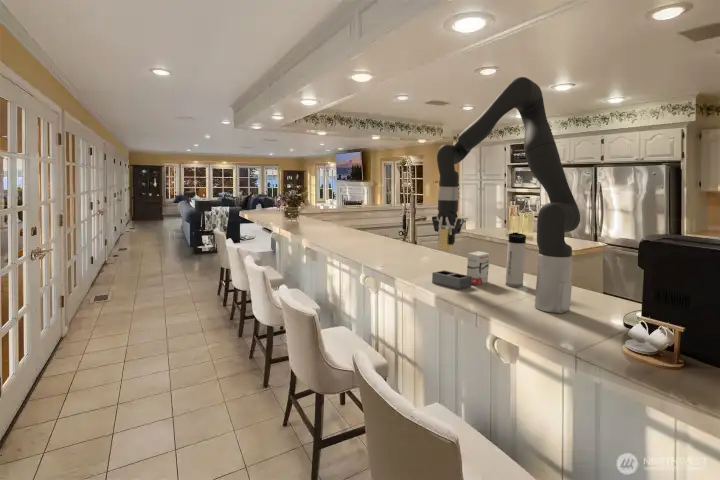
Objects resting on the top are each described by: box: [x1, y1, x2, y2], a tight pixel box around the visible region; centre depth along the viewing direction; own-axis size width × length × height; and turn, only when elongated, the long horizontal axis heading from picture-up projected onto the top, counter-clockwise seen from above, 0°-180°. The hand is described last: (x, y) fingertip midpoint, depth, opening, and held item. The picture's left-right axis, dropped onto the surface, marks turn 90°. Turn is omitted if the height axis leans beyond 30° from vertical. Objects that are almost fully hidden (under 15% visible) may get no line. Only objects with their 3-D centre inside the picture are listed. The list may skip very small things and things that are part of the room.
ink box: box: [466, 250, 491, 286], centre depth 161 cm, size 8×5×12 cm, turn 134°
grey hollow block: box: [431, 269, 472, 291], centre depth 157 cm, size 13×7×4 cm, turn 40°
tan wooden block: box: [438, 227, 455, 252], centre depth 157 cm, size 4×4×8 cm
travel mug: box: [505, 232, 527, 288], centre depth 157 cm, size 6×7×20 cm
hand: (446, 243), depth 158 cm, fingers closed on tan wooden block, 4 cm apart
